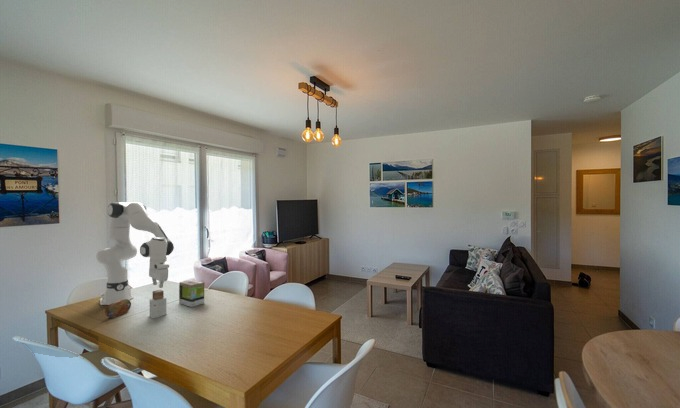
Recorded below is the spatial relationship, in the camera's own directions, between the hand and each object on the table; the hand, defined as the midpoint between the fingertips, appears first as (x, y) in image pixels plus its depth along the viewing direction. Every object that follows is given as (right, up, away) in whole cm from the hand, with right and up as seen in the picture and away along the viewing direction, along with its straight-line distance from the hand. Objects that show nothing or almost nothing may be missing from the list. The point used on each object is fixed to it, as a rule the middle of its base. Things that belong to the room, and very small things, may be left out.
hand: (157, 286), depth 176 cm
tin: (-25, -18, +1) cm, 31 cm away
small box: (0, -18, 0) cm, 18 cm away
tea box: (+10, -18, +22) cm, 30 cm away
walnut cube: (0, -8, 0) cm, 8 cm away
